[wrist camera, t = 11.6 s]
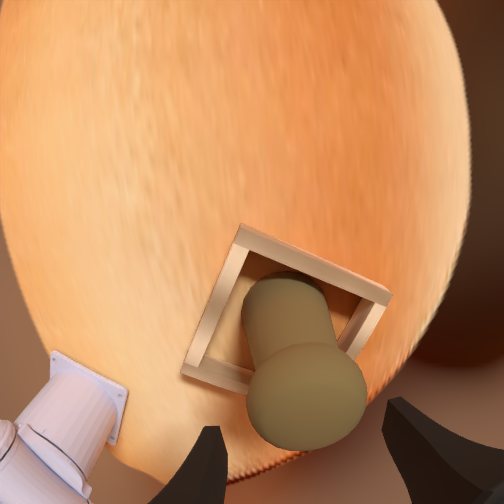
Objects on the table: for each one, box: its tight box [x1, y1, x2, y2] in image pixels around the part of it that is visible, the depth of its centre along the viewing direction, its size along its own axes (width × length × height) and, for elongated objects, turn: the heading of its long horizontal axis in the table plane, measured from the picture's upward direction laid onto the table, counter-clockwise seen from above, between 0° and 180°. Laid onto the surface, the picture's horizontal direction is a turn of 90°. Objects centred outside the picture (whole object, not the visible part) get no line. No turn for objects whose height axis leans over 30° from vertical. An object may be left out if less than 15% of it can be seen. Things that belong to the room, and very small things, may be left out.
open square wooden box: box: [180, 223, 393, 396], centre depth 20 cm, size 11×11×2 cm
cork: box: [241, 271, 367, 451], centre depth 15 cm, size 6×6×11 cm
